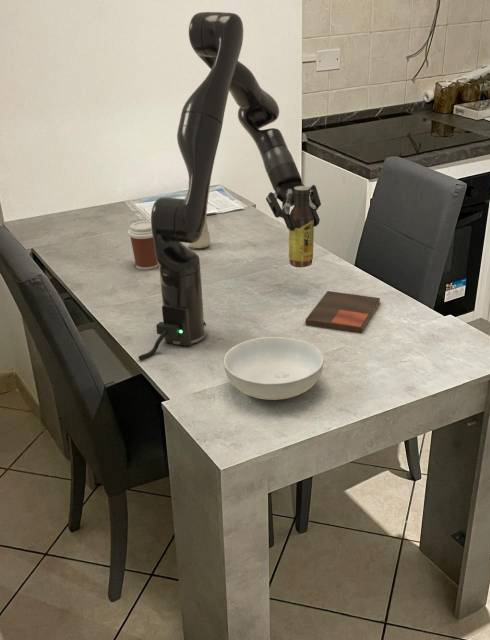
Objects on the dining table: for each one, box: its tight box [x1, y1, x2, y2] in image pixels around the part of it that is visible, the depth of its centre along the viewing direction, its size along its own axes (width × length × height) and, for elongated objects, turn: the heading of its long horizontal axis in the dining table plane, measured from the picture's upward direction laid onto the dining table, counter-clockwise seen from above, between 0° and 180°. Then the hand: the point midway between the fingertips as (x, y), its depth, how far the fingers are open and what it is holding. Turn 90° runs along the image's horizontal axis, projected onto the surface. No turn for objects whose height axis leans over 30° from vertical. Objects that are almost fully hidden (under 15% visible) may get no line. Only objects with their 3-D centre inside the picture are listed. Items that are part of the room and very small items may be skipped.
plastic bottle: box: [184, 185, 211, 249], centre depth 236 cm, size 6×7×20 cm
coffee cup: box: [126, 220, 159, 271], centre depth 226 cm, size 9×9×12 cm
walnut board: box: [305, 290, 381, 334], centre depth 200 cm, size 18×14×2 cm
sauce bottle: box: [288, 185, 315, 268], centre depth 202 cm, size 7×6×20 cm
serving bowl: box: [223, 336, 325, 401], centre depth 168 cm, size 21×21×7 cm
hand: (305, 227), depth 201 cm, fingers closed on sauce bottle, 6 cm apart
